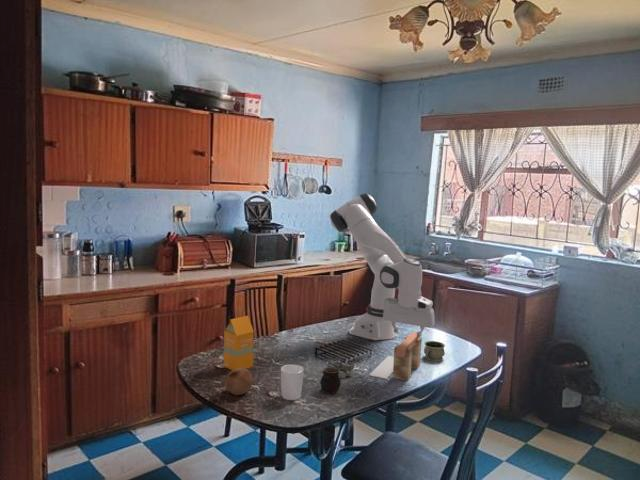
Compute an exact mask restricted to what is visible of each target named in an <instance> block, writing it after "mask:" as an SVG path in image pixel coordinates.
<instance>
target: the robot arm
mask: <svg viewBox="0 0 640 480" xmlns="http://www.w3.org/2000/svg"><path fill="white" fill-rule="evenodd" d="M377 209H378V207H377V202H376V201H375V199H374V197H373V196H372V195H371V194H369V193H367V192H365V193H364V192H363V193H361V194H360V195H358V196H356V197H354V198H352V199H349V200H348V201H347V202H346V203H344V204H343V205H341V206H340V207H339V208H337V209H336V210H333V211H332V212H331V213H330V216H329V218H330V224H331V226H332V227H333V229H335V230H336V231H338V232H339V233H344V232H346V231H347V232H348V230H349V232H350V233H351V236H352V238H353V239H354V241H355V243H356V244H357V245H358V246H357V247H358V249H359V250H360V251H361V253H362V254H363V256H364V258H365V260H366V262H367V264H368V266H369V268H370V271H372V273H373V274H374V279H373V283H372V285H373V286H372V288H371V292H370V293H371V295H370V296H371V297H370V304H368V305H367V307H366V308H365V311H366V312H365V313H364V314H362V315H360V316H359V317H357V319H355V321H354V325H353V326H352V327H351V328H350V329H349V331H348V333H349V335H352V336H357V337H360V338H365V339H368V340H372V341H380V340H382V341H383V340H391V339H394V338H395V337H396V334H399V330H400V328H399V327H397V323H399V324H406V325H411V326H416V327H419V329H420V330H419V331H418V330H417V331H416V332H417V337H421V338H422V335H423V334H422V333H423V332H424V330H425V328H429V329H431V328H432V327H434V325H435V311H434V309H433V305H434V303H433V301H432V300H430V299H428V298H426V297H424V296H423V295H422V289H421V287H422V285H423V267H422V263H421V262H420V261H418V259H414V258H409V257H408V256H407V255H406V253H405V252H404V251H403V250H402V249H401V248H400V246H399V245H398V244H397V242H396V241H395V240H394V239H393V237H391V236H390V235H389V234H388V233H387V232H385V231H384V230H383V228H381V227H380V226H379V225H378V223H377V222H376V221H375V219H374V218H373V216H374V214H376V212H377ZM396 289H397V290H398V296H397V298H396V297H395V294H396V293H395V292H396Z"/></svg>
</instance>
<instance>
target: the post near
mask: <svg viewBox="0 0 640 480" xmlns="http://www.w3.org/2000/svg"><path fill="white" fill-rule="evenodd" d="M399 345H400V344H397V345H396V346H395V347H394V351H393V357H394V364H393V373H392V378H393V379H397V380H402V381H405V382H408V381H409V380H410V379H411V377H412V375H411V374H412V368H411V364H412V349H413V348H412V347H410V348H409V349H408V350H407V354H406V355H405V356H404V357H398V356H396V348H397V347H398V346H399Z"/></svg>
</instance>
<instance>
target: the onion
mask: <svg viewBox="0 0 640 480" xmlns="http://www.w3.org/2000/svg"><path fill="white" fill-rule="evenodd" d="M253 383H254V377H253V375H252V373H251V371H250V370H248V368H246V369H245V368H237V369H234V370H231V371H230V372H228V373H227V375H226V378H225V387H226V388H227V391H228V392H229V393H231V394H232V395H235V396H240V395H244V394H246V393H247V392H249V390H250V389H251V388H252V386H253Z"/></svg>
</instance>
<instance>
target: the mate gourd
mask: <svg viewBox="0 0 640 480" xmlns="http://www.w3.org/2000/svg"><path fill="white" fill-rule="evenodd" d="M341 366H342V364H341V365H340V366H339V367H338V368H333V367H328V366H327V367H325V368H323V369H322V370H323V373H322V374H323V375H322V376H321V378H320V381H319V383H320V388H321V390H322V391H323V392H324V393H326V394H335V393H337V392H338V391H339V389H340V387H341V379H340V378H339V376H338V374H339V370H338V369H339V368H340V367H341Z"/></svg>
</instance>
